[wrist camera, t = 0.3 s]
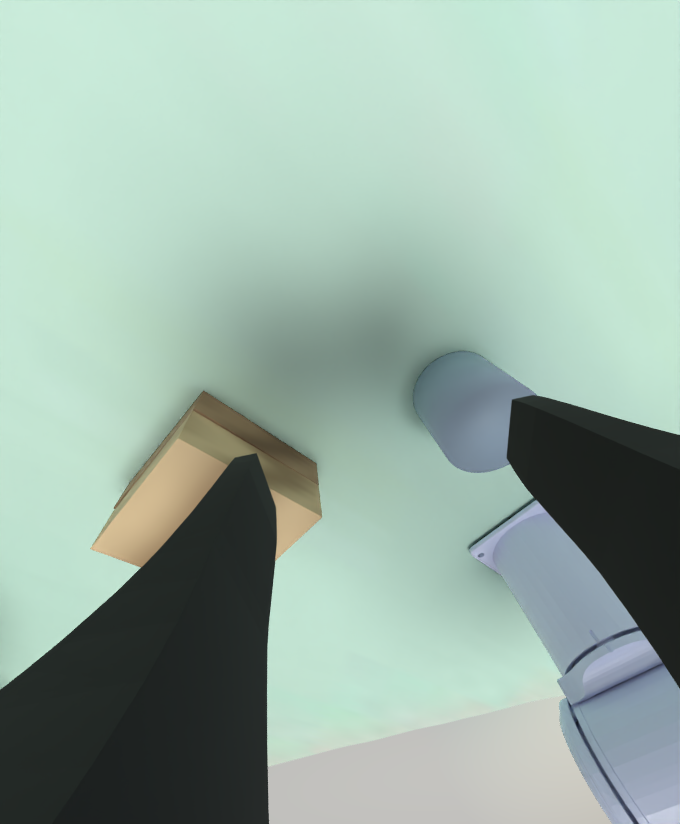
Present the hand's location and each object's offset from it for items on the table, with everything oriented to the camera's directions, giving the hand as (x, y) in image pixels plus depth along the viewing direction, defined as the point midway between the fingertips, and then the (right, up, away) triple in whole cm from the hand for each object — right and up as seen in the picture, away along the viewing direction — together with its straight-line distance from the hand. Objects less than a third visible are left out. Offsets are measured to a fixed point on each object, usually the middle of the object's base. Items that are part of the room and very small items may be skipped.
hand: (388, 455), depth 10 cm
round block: (+5, +2, +11) cm, 12 cm away
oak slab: (-8, -4, +10) cm, 13 cm away
